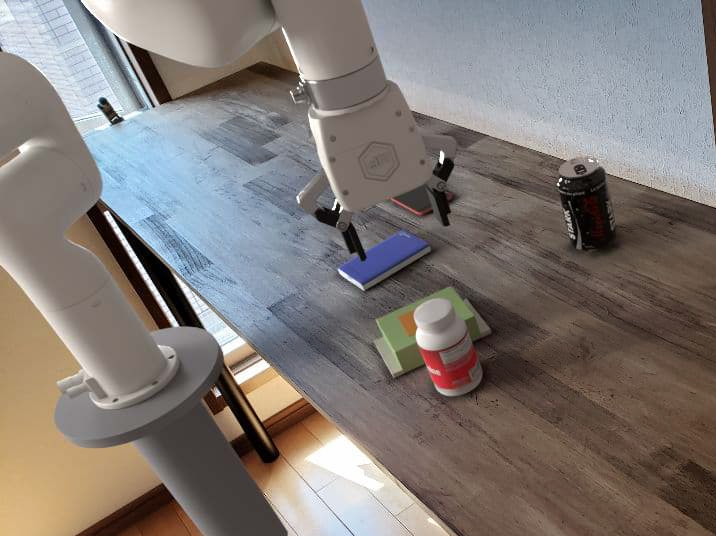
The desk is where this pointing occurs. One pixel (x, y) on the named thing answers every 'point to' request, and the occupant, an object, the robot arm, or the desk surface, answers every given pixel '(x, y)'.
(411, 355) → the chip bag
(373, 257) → the hard drive
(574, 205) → the beverage can
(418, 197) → the smartphone
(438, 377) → the pill bottle
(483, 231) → the desk surface
